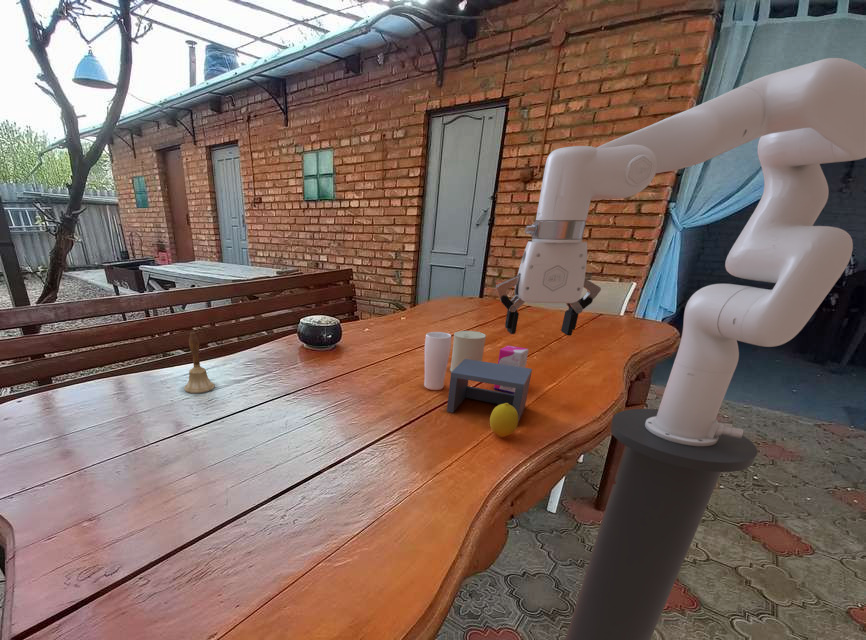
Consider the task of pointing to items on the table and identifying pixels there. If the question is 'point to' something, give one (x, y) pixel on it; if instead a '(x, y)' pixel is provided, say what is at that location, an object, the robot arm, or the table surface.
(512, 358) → the supplement box
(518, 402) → the shelf
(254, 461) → the table surface
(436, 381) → the drinking glass
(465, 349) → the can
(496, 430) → the lemon
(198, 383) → the hand bell
